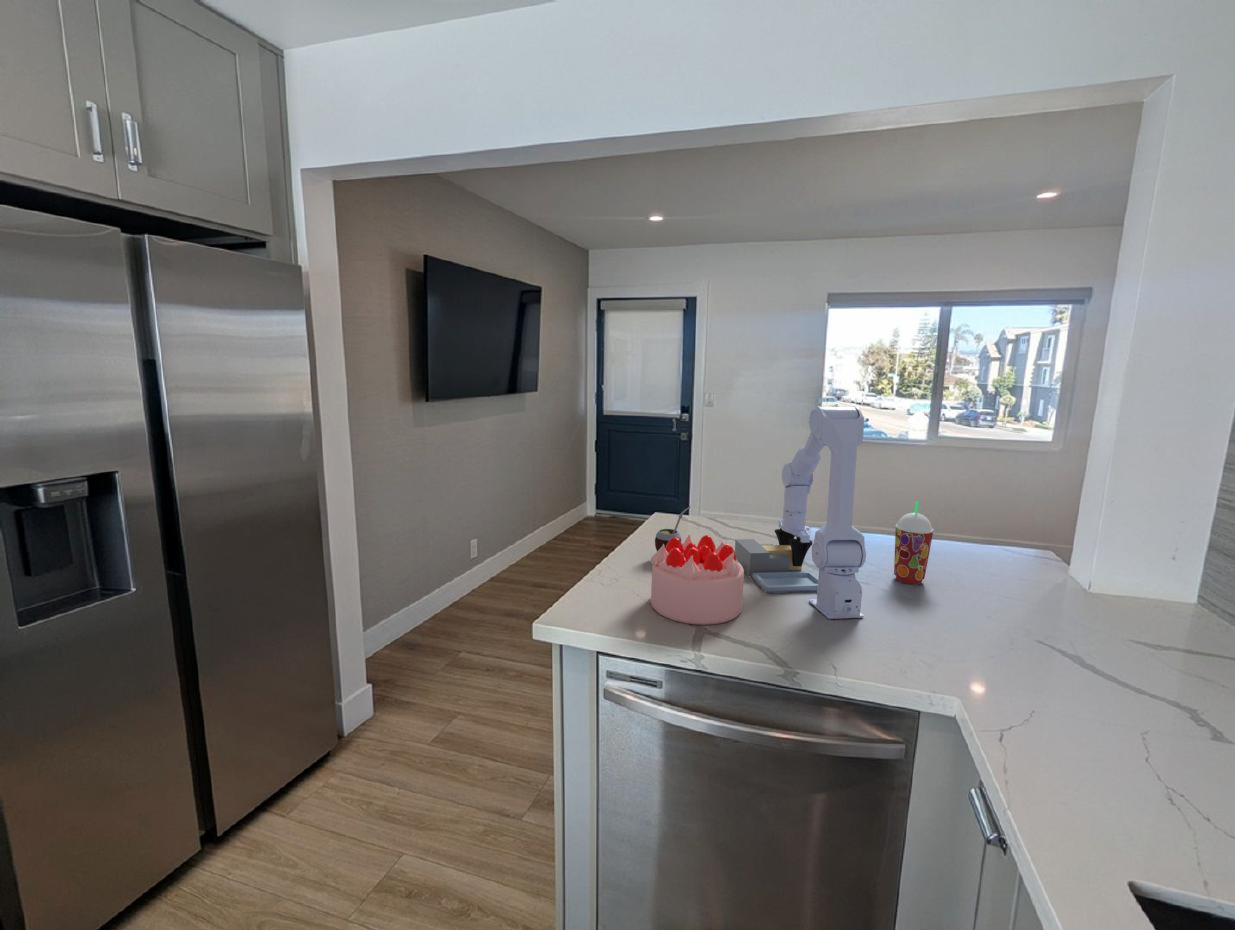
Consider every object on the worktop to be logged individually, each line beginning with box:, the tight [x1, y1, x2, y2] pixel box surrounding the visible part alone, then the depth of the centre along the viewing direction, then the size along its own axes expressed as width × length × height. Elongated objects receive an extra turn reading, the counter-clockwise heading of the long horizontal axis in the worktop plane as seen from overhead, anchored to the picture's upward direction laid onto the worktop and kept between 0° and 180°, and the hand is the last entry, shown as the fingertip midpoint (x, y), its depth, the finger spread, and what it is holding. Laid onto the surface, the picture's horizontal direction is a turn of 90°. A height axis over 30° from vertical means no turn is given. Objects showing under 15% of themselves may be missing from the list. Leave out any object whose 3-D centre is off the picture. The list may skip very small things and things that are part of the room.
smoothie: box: [893, 501, 934, 586], centre depth 143 cm, size 8×8×20 cm
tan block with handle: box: [762, 544, 803, 571], centre depth 152 cm, size 4×11×6 cm, turn 98°
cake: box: [649, 534, 745, 626], centre depth 126 cm, size 20×20×14 cm
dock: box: [734, 538, 790, 577], centre depth 151 cm, size 11×10×6 cm
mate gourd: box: [654, 505, 691, 552], centre depth 155 cm, size 8×8×15 cm
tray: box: [752, 570, 819, 594], centre depth 140 cm, size 9×15×2 cm, turn 98°
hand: (791, 560), depth 152 cm, fingers open, 7 cm apart
